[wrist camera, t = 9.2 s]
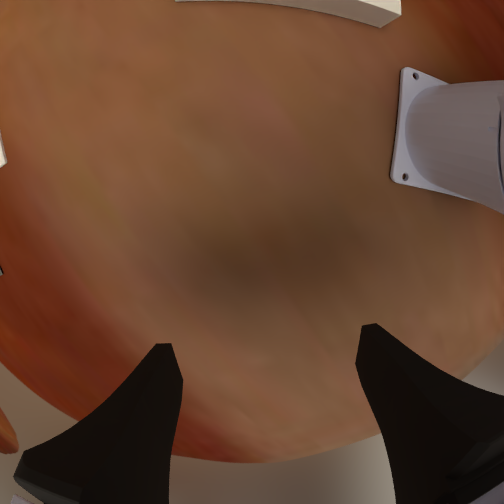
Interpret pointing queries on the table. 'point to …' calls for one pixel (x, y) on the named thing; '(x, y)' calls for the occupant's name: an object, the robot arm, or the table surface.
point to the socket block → (343, 8)
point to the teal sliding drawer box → (2, 161)
